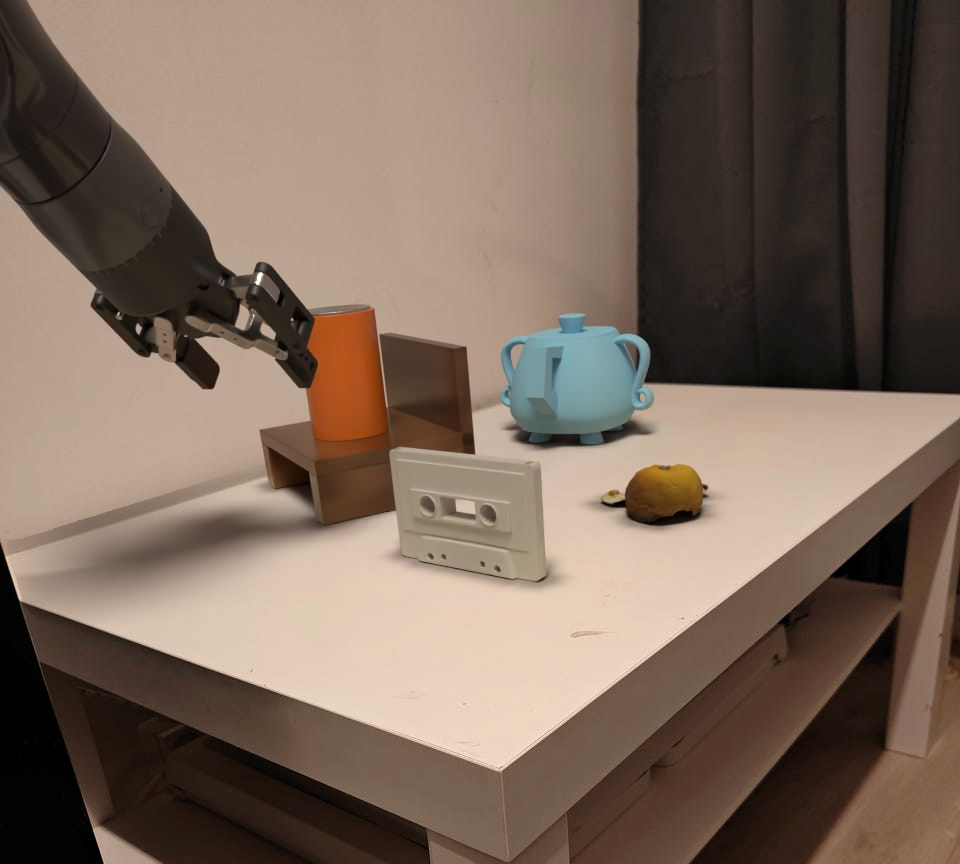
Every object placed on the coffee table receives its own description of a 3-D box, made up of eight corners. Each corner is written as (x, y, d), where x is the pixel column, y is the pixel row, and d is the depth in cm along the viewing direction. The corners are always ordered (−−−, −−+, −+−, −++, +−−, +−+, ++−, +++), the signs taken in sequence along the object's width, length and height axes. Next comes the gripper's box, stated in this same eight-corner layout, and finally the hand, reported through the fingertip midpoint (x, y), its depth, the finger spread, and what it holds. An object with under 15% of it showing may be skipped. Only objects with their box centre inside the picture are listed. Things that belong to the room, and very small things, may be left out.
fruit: (700, 489, 75) (701, 444, 74) (731, 520, 68) (732, 470, 66) (598, 499, 75) (597, 454, 74) (617, 531, 68) (616, 481, 66)
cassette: (395, 557, 66) (382, 451, 63) (413, 549, 68) (400, 444, 64) (535, 585, 59) (529, 467, 56) (551, 575, 61) (546, 459, 58)
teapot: (622, 460, 85) (620, 325, 80) (463, 453, 93) (452, 329, 88) (684, 413, 101) (685, 298, 96) (543, 410, 109) (538, 303, 104)
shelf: (324, 525, 75) (300, 372, 70) (268, 484, 88) (245, 353, 83) (478, 491, 80) (466, 346, 75) (404, 457, 93) (390, 332, 88)
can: (327, 445, 77) (308, 316, 73) (303, 432, 83) (283, 311, 78) (400, 431, 80) (386, 306, 76) (372, 420, 85) (357, 302, 81)
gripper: (232, 152, 53) (357, 333, 67) (44, 175, 58) (197, 338, 73) (192, 260, 51) (330, 423, 65) (1, 274, 56) (167, 422, 71)
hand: (260, 378), depth 69 cm, fingers open, 8 cm apart
